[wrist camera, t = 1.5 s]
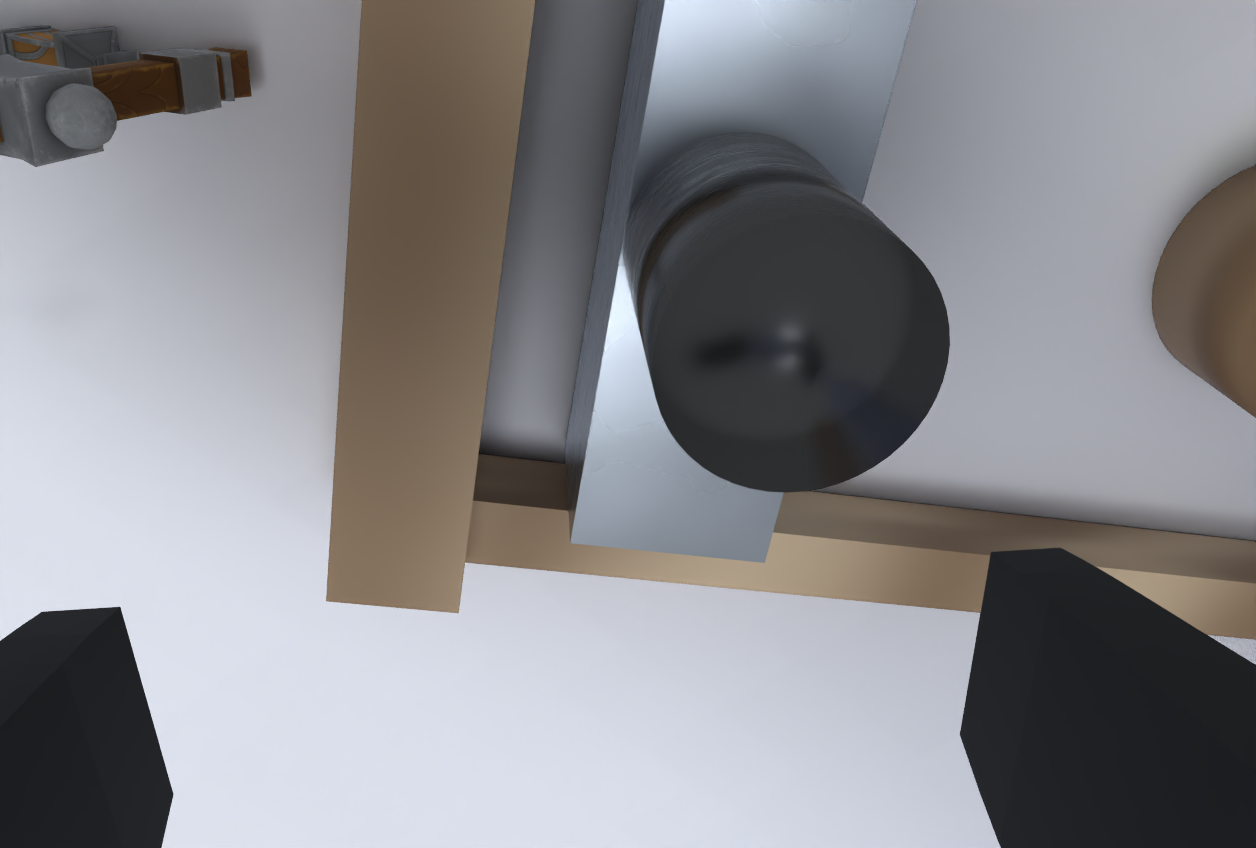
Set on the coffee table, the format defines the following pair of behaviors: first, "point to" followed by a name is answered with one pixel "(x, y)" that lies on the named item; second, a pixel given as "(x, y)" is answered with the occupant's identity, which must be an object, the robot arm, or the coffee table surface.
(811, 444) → the block
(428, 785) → the coffee table surface
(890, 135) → the coffee table surface
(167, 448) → the coffee table surface
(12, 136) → the jointed folding linkage
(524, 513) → the vise frame
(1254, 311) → the brown wooden cylinder
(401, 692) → the coffee table surface
